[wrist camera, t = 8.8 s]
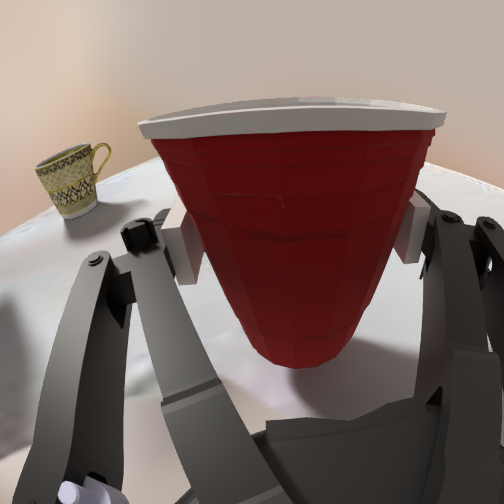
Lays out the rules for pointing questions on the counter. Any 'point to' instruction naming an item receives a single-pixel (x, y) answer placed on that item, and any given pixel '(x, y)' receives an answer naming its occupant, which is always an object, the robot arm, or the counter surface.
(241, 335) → the counter surface
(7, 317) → the counter surface
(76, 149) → the ceramic cup
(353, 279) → the plastic cup
